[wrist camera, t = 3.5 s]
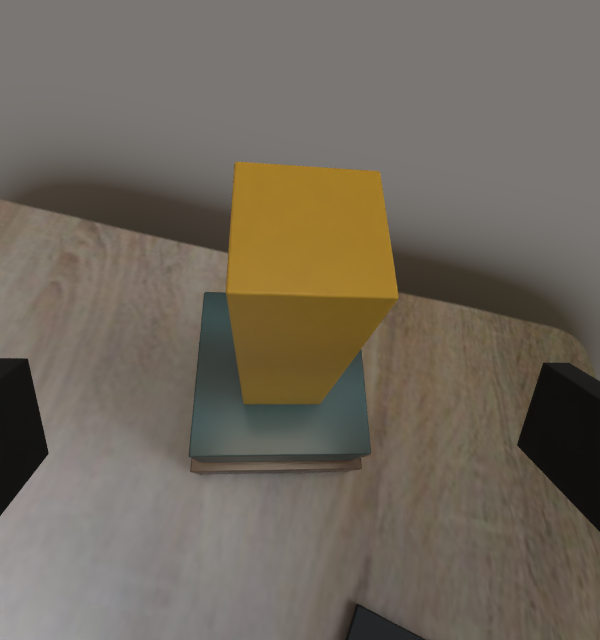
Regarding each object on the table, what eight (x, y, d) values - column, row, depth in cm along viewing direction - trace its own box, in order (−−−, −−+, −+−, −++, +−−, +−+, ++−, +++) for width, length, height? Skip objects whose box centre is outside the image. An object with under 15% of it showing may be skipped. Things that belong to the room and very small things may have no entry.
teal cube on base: (347, 471, 26) (382, 464, 19) (199, 474, 25) (176, 468, 18) (337, 337, 30) (363, 289, 23) (211, 335, 29) (196, 283, 22)
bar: (320, 404, 20) (399, 298, 9) (243, 404, 19) (225, 293, 8) (317, 333, 21) (380, 170, 10) (246, 332, 21) (234, 160, 10)
